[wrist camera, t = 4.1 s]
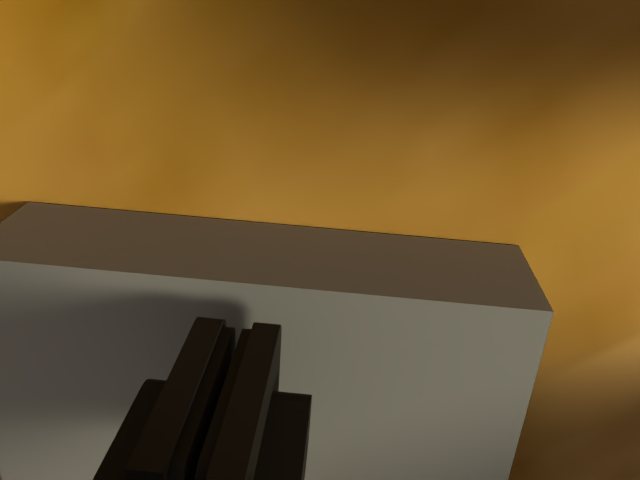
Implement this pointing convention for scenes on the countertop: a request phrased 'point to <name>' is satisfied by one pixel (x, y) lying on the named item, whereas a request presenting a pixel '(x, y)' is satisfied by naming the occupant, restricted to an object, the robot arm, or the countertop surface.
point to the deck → (274, 308)
